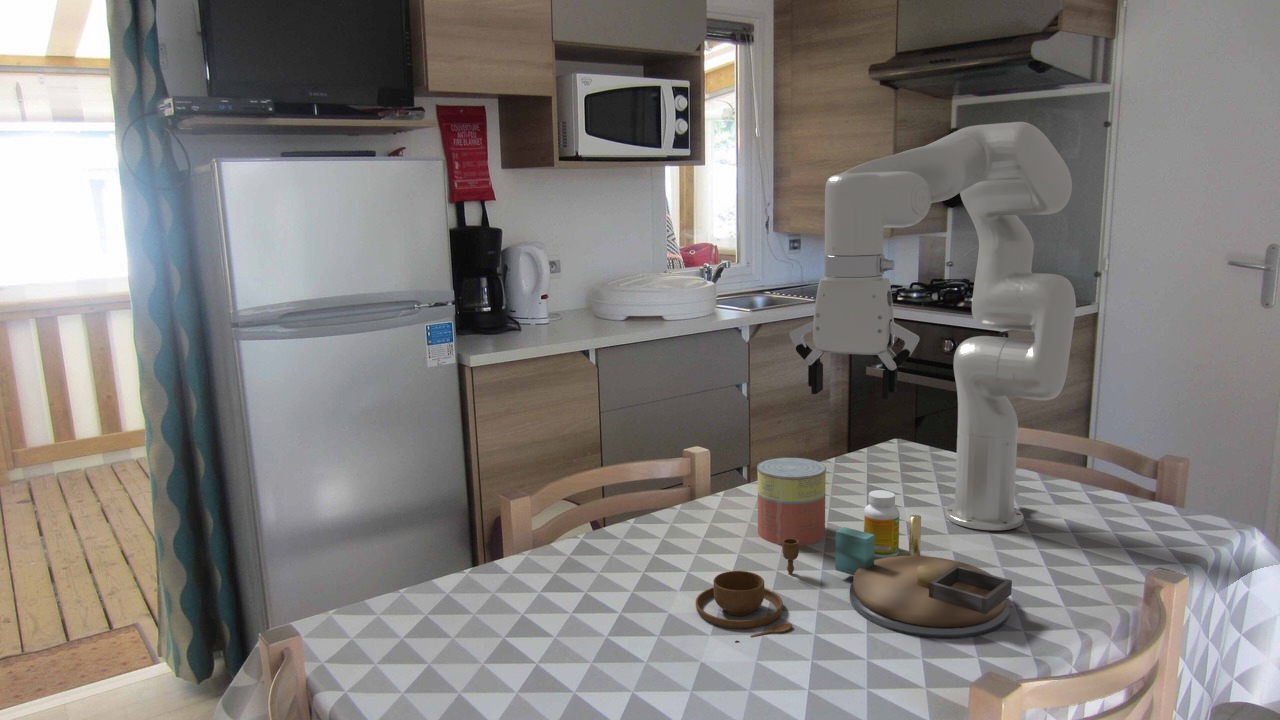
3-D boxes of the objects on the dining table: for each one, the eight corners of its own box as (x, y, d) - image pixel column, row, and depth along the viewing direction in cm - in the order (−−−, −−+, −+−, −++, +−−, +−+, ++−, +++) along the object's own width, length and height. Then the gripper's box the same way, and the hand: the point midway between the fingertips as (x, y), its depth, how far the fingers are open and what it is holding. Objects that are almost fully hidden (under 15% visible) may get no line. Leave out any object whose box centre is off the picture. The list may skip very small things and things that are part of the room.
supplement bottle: (899, 560, 141) (901, 500, 139) (864, 558, 142) (865, 498, 140) (897, 547, 146) (898, 489, 144) (862, 545, 147) (863, 487, 146)
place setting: (672, 596, 131) (671, 558, 130) (791, 572, 139) (791, 535, 138) (730, 649, 115) (729, 605, 114) (861, 618, 123) (861, 577, 122)
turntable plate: (1029, 590, 126) (1031, 549, 125) (964, 642, 112) (966, 596, 111) (874, 548, 142) (875, 511, 141) (801, 588, 128) (801, 548, 127)
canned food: (817, 523, 158) (817, 456, 156) (832, 547, 147) (833, 475, 145) (752, 525, 158) (752, 458, 156) (763, 549, 147) (762, 478, 145)
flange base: (897, 560, 141) (898, 510, 139) (1035, 598, 126) (1038, 543, 125) (820, 605, 126) (820, 550, 124) (966, 655, 111) (969, 593, 110)
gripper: (926, 266, 120) (922, 394, 123) (799, 265, 128) (798, 385, 131) (914, 271, 113) (911, 405, 116) (781, 270, 121) (781, 395, 124)
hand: (851, 394), depth 123 cm, fingers open, 9 cm apart
